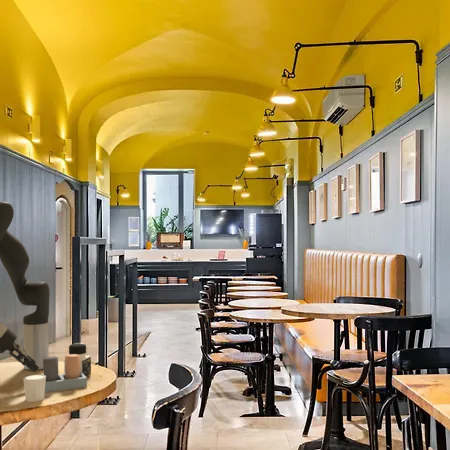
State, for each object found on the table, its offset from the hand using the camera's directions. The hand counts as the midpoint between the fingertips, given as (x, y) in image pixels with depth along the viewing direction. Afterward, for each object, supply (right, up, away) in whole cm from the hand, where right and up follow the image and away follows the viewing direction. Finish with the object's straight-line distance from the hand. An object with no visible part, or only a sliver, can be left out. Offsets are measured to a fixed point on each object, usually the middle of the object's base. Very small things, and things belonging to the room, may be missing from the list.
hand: (35, 367), depth 193 cm
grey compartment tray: (+8, -7, +4) cm, 12 cm away
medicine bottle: (+10, -8, +16) cm, 20 cm away
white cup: (+3, -8, -10) cm, 13 cm away
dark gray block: (+5, -7, +2) cm, 9 cm away
